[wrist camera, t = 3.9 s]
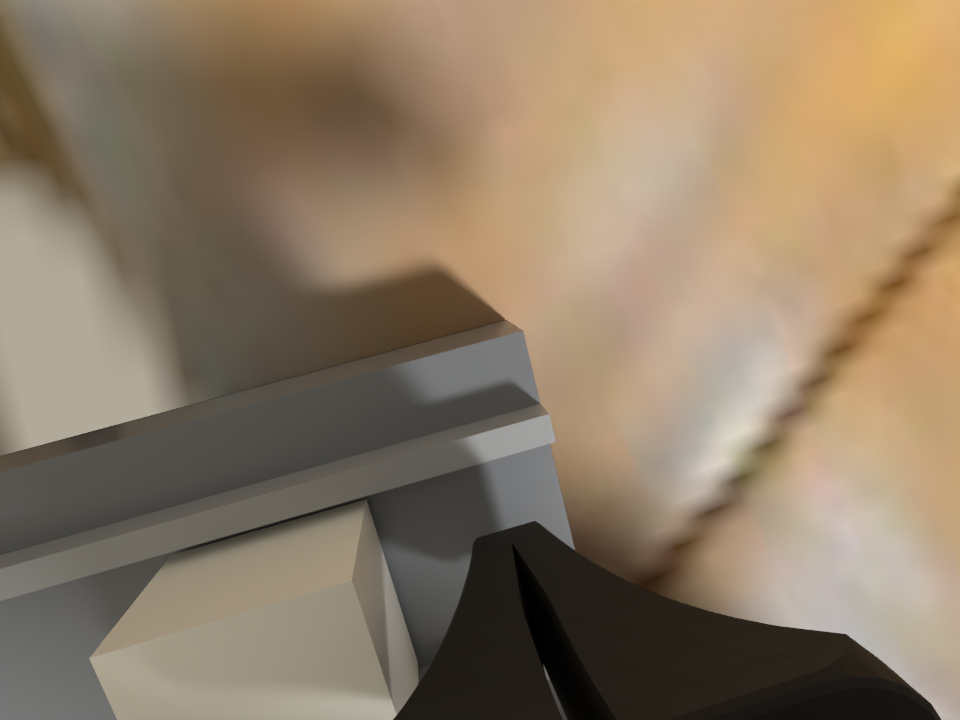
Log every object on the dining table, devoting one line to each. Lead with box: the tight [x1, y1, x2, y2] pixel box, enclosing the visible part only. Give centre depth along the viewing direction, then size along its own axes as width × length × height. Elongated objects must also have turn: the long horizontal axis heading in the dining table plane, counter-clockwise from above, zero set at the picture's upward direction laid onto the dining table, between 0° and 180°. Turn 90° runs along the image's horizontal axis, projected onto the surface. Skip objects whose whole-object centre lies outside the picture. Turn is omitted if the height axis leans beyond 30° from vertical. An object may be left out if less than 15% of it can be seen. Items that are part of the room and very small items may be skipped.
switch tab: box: [89, 499, 418, 720], centre depth 10 cm, size 4×4×3 cm
